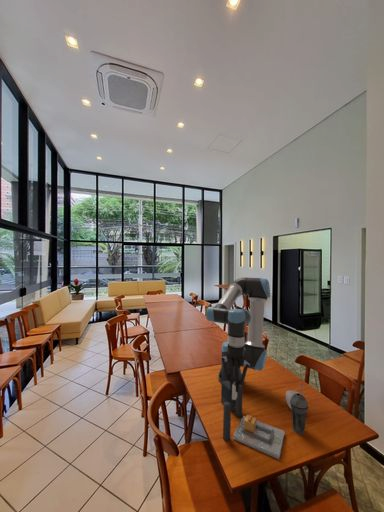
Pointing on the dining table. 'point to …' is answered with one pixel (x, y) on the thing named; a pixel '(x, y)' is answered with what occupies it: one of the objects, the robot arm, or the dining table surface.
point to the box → (227, 394)
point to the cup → (289, 396)
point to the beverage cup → (299, 412)
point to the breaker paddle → (250, 423)
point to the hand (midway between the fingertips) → (234, 398)
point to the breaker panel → (261, 438)
